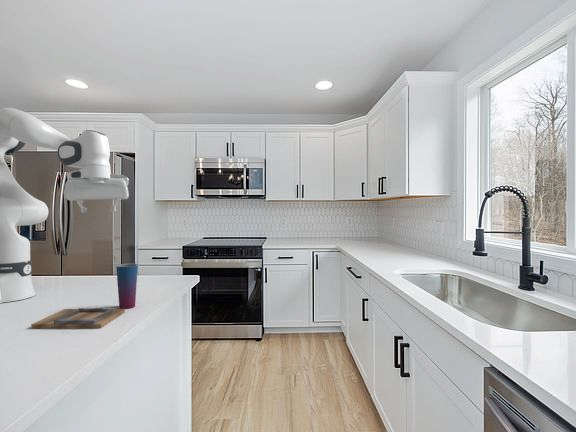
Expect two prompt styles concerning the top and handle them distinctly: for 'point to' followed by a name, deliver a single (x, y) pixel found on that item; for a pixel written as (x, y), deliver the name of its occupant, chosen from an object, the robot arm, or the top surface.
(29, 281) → the robot arm
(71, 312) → the board
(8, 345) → the top surface
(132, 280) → the cup
